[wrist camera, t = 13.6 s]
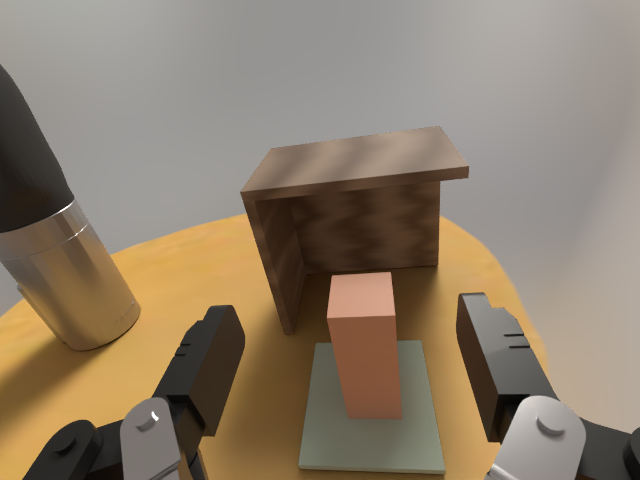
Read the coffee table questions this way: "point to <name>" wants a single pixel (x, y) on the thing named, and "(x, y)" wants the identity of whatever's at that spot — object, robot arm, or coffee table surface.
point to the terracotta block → (365, 344)
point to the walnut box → (348, 207)
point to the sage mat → (371, 422)
